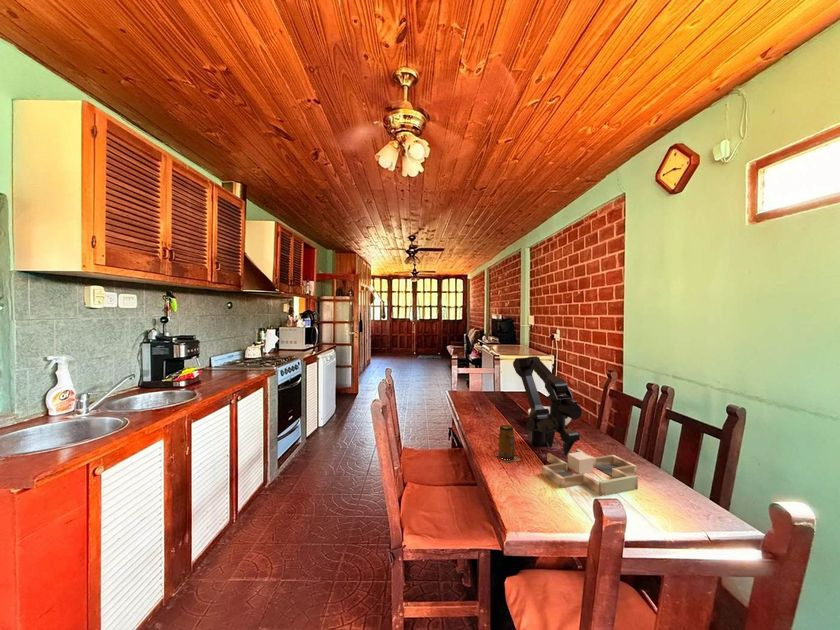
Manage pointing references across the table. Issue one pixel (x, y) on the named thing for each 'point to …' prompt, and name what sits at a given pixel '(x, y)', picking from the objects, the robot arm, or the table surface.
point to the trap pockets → (567, 479)
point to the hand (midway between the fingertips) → (557, 451)
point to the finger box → (607, 486)
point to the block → (580, 462)
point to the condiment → (507, 444)
